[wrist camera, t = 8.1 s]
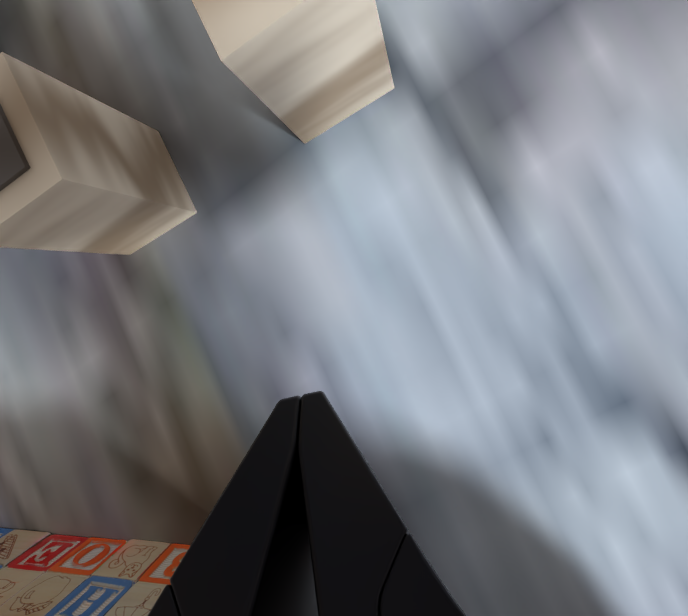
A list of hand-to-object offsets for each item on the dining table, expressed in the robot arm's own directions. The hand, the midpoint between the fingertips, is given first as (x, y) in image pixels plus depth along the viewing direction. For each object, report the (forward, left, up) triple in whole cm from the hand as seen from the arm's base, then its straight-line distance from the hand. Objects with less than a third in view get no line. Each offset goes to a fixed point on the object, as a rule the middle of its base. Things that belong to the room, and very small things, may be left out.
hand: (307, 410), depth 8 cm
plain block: (+8, -10, -12) cm, 18 cm away
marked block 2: (+15, -1, -12) cm, 20 cm away
